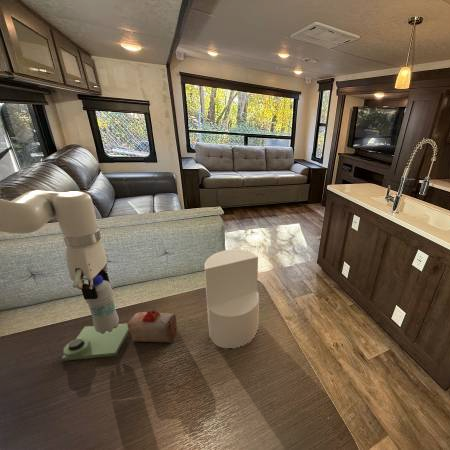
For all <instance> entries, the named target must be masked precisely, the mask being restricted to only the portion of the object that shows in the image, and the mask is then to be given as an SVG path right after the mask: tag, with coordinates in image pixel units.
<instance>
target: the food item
mask: <svg viewBox="0 0 450 450" xmlns="http://www.w3.org/2000/svg"><path fill="white" fill-rule="evenodd" d="M176 314H177V313H169V312H159V311H157V310H156V307H154V308H153V310H146V311H139V312H136V313H135V314H134V315H133V316H132V317H131V318H130V320H129V321H128V322H127V323H128V324H127V323H126V324H127V325H128V329H129V333H130V334H129V335H130V336H131V338H132V339H131V340H132V342H133V343H137V342H138V343H140V342H143V343H145V342H146V343H168V344H170V343H172V342H173V341H174V340H175V338H176V336H177V333H178V324H177V316H176Z"/></svg>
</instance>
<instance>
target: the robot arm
mask: <svg viewBox="0 0 450 450" xmlns="http://www.w3.org/2000/svg"><path fill="white" fill-rule="evenodd" d="M54 219H57V222H58V225H59V229H60V232H61V235H62V238H63V241H64V244H65V260H66V266H67V270H68V274H69V277H70V280H71V281H73V283H72V288H75V289H78V290H81V293H82V297H83V299H84V300H85V299H86V300H87V299H97V298H98V295H97V291H96V288H95V287H93V278H94V277H95V276H96V275H101V276H102V278H103V280H106V281H108V282H109V284H110V283H111V282H110V278H109V274H108V268H107V265H108V257H109V256H108V255H107V251H106V249H105V245H104V243H103V239H102V236H101V231H100V227H99V223H98V219H97V215H96V211H95V207H94V203H93V199H92V197H91V195H90V193H89V194H88V193H87V192H85V191H66V192H58V191H50V190H49V191H48V190H29V191H27V192H24V193H23V194H21V195H19V196H17V197H14V199H12V200H8V199H3V198H0V232H3V233H8V234H18V235H19V234H21V235H23V234H32V233H34V232H36V231H38V230H40V229H41V228H43V227H44V226H45V225H46V224H47V223H48V222H50V221H51V220H54ZM88 280H89V283H85V281H88ZM86 300H85V301H86Z"/></svg>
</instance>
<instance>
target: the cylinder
mask: <svg viewBox="0 0 450 450" xmlns="http://www.w3.org/2000/svg"><path fill="white" fill-rule="evenodd" d="M203 266H204V280H205V281H204V283H205V294H206V295H205V297H206V305H207V306H206V307H207V308H206V309H207V324H208V325H207V326H208V336H209V339H210V338H211V339H210V340H211V342H212V343H213V344H214V345H216V347H220V348H222V349H228V348H232V349H238V348H241V347H240V346H242V347H244V346H246V345H248V344H249V343H251V342H252V341H253V340H254V339H255V338H256V336H257V334H258V331H259V321H260V320H259V319H260V318H259V316H260V294H259V292H258V277H259V276H258V275H259V272H258V271H259V256H258V255H257V254H255V253H254V252H252V251H249V250H245V249H225V250H222V251H221V250H220V251H217V252H216V253H215V252H214V253H213V254H212V255H210V256H209V257H207V259H206V260H205V262H204V265H203ZM257 330H258V331H257ZM256 333H257V334H256ZM255 335H256V336H255ZM253 338H254V339H253ZM252 339H253V340H252ZM247 343H248V344H247ZM245 344H246V345H245ZM243 345H244V346H243ZM237 347H238V348H237Z"/></svg>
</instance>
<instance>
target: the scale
mask: <svg viewBox="0 0 450 450" xmlns="http://www.w3.org/2000/svg"><path fill="white" fill-rule="evenodd" d="M127 324H128V322H127V323H118V326H117V328H113V330H112V331H111V332H109V331H105V333H104V334H101V333H100V332H97V331H96V330H95V328H94V325H91V326H89V325H88V326H84V327H83V328H82V329H81V331H80V333H78V335H77V337H76V338H75V339H74V340H76V339H82V341H83V346H82V347H81V348H80V349H77V350H74V351H72V350H70V347H69V344H70V343H71V342H72V341H73V340H71V341H69V342H68V343H67V344H66V345H65V346H64V347H63V349H62V350H63V355H62V356H61V361H62V362H64V361H65V362H67V361H76V360H83V359H84V360H85V359H94V358H104V357H114V356H117V355H118V353H119V351H120V350H121V348H122V346H123V343H124V342H125V339H126V338H127V336H128V334H129V333H130V331H129V329H128V325H127Z"/></svg>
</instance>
